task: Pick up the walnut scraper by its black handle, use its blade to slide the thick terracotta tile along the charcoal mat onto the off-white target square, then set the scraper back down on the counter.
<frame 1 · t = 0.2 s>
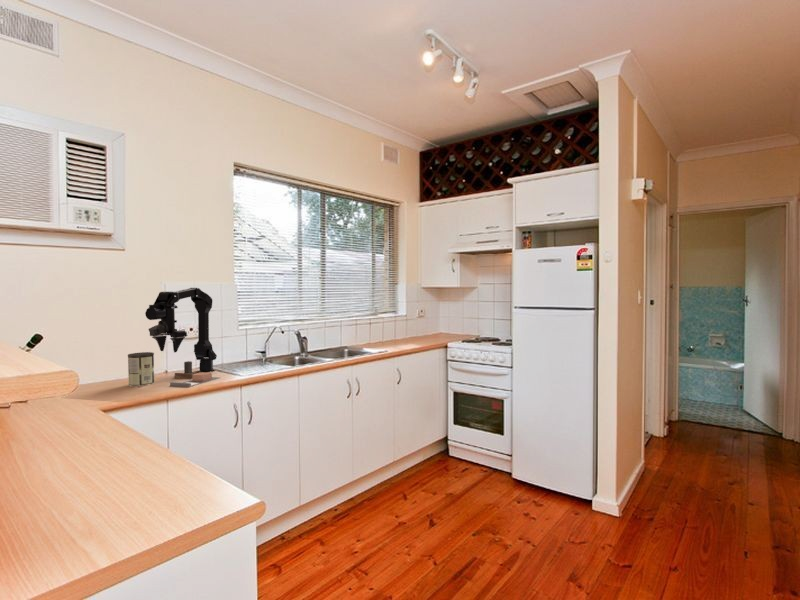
hand: (168, 351, 210), 14 cm above the countertop, tool pointing down, fingers open, 9 cm apart
mat: (197, 382, 208), on the countertop
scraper: (188, 378, 219), on the countertop
coffee can: (141, 385, 203), on the countertop
tile: (202, 380, 211), resting on mat
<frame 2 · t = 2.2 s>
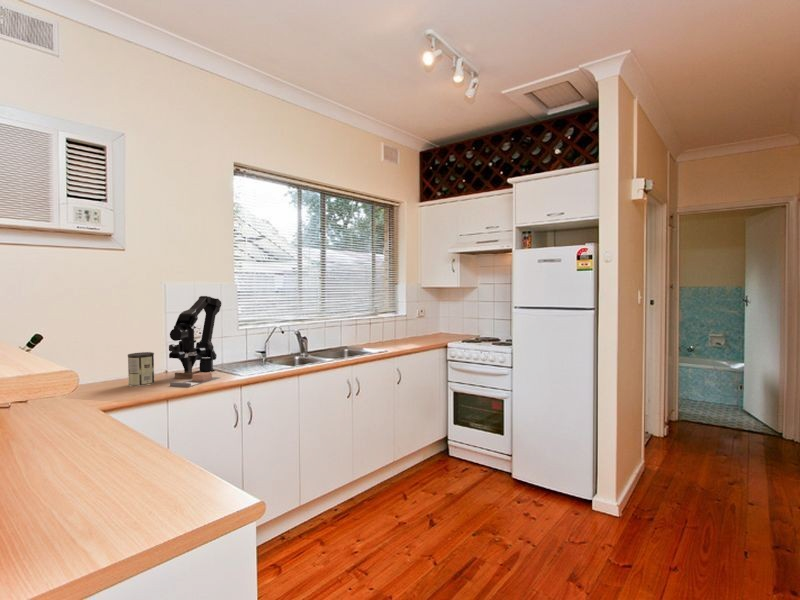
hand: (188, 370, 219), 4 cm above the countertop, tool pointing down, fingers closed on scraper, 2 cm apart
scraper: (188, 377, 219), on the countertop, touching gripper
everything else where it was.
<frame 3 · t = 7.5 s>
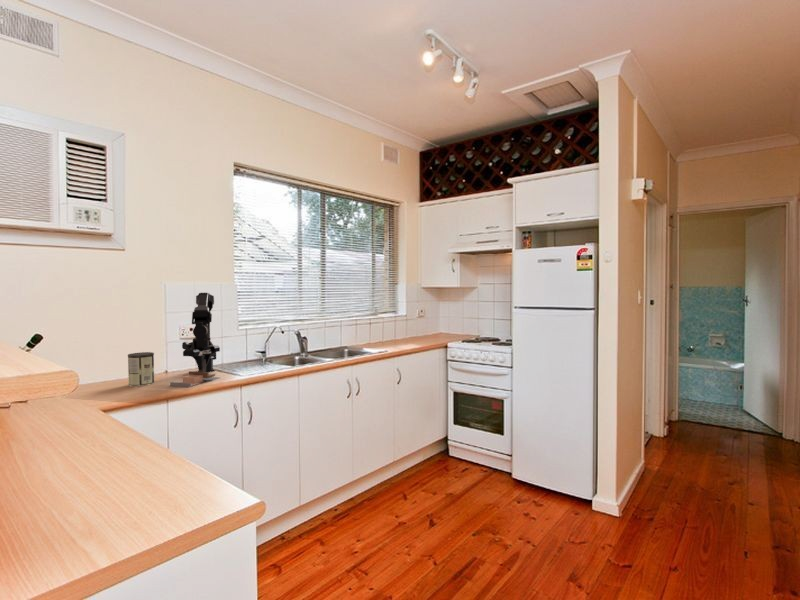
hand: (202, 369, 211), 6 cm above the countertop, tool pointing down, fingers closed on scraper, 2 cm apart
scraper: (202, 376, 211), point 2 cm above the countertop, touching gripper, tile
tile: (193, 382, 205), resting on mat, touching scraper
everything else where it was.
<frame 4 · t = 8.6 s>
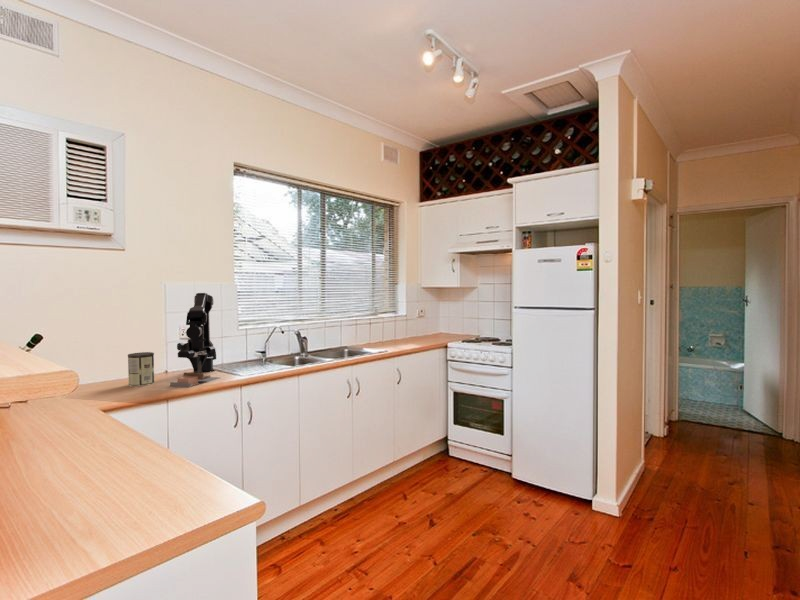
hand: (197, 370, 208), 5 cm above the countertop, tool pointing down, fingers closed on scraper, 2 cm apart
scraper: (197, 378, 208), point 2 cm above the countertop, touching gripper, tile
tile: (187, 384, 202), resting on mat, touching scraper
everything else where it was.
when the fingers open (5 cm above the countertop, at t = 12.0 s): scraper drops 2 cm, on the countertop.
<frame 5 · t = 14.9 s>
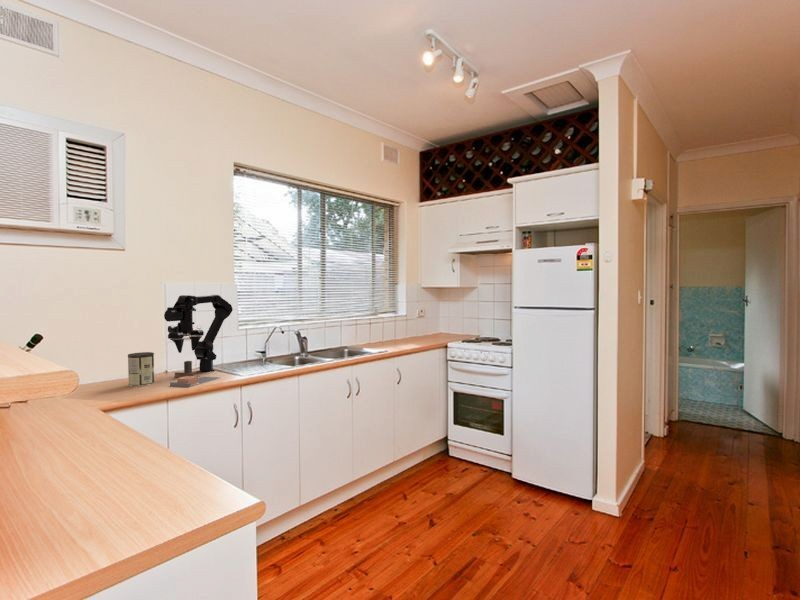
hand: (186, 351, 225), 12 cm above the countertop, tool pointing down, fingers open, 9 cm apart
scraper: (188, 377, 220), on the countertop
tile: (187, 384, 202), resting on mat
everything else where it was.
at the end: tile 0.2 cm from the target spot, resting on mat; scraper inside the target area (0.1 cm from its centre), on the countertop; the gripper is holding nothing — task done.
